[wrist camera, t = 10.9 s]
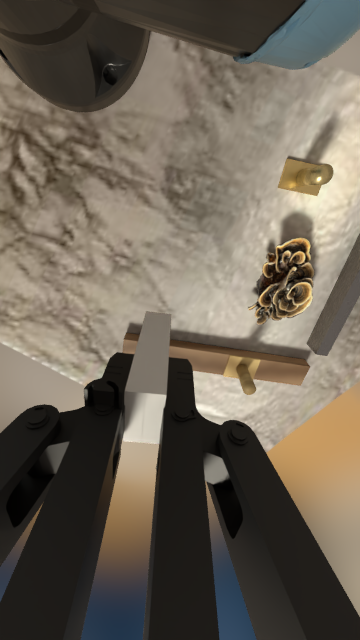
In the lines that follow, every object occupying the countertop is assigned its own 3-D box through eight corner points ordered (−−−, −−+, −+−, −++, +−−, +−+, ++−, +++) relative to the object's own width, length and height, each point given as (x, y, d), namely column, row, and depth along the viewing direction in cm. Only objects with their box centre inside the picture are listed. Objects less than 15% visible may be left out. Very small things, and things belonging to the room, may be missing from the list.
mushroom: (269, 234, 32) (282, 240, 29) (321, 247, 33) (339, 254, 30) (239, 314, 38) (247, 327, 34) (284, 323, 39) (296, 337, 35)
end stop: (362, 228, 32) (379, 231, 29) (374, 231, 32) (392, 234, 30) (306, 343, 40) (315, 354, 37) (316, 345, 40) (327, 355, 37)
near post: (286, 158, 29) (307, 151, 24) (326, 167, 29) (354, 162, 25) (277, 187, 30) (295, 186, 25) (316, 195, 30) (340, 195, 26)
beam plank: (126, 332, 39) (116, 359, 32) (304, 359, 41) (328, 388, 35) (124, 353, 41) (114, 383, 34) (295, 378, 43) (315, 409, 37)
